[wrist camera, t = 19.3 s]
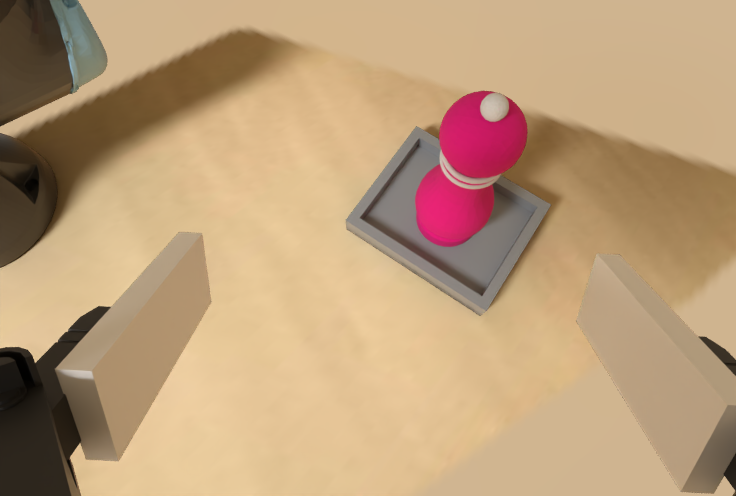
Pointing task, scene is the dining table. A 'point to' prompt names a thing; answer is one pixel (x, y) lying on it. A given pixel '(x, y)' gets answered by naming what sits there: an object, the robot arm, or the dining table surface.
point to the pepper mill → (469, 166)
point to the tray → (437, 263)
